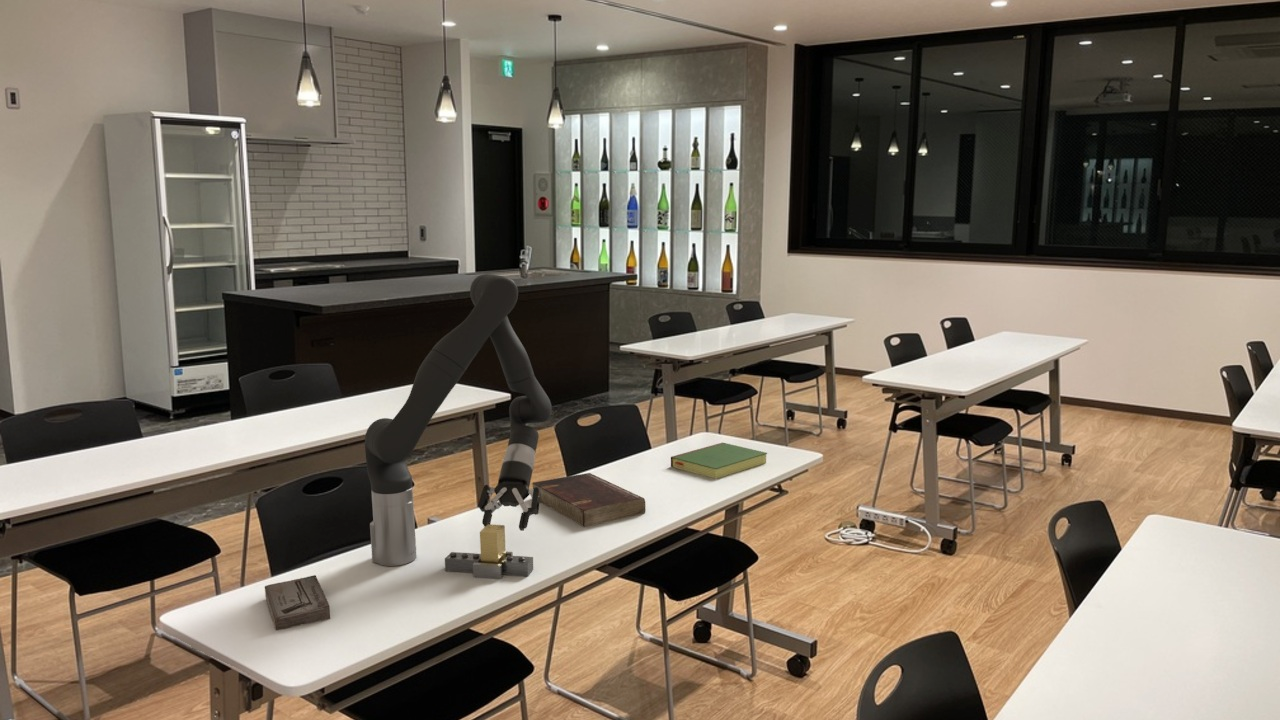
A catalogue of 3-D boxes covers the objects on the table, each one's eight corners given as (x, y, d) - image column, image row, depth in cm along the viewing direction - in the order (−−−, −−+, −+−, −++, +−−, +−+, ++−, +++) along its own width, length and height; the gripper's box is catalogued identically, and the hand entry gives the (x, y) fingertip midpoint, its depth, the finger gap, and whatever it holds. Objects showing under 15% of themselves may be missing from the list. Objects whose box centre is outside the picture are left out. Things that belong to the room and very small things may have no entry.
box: (317, 587, 203) (315, 573, 203) (331, 619, 188) (330, 605, 188) (264, 598, 199) (262, 585, 198) (275, 633, 184) (273, 618, 183)
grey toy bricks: (441, 574, 210) (440, 560, 209) (455, 560, 218) (455, 546, 217) (524, 580, 206) (524, 565, 206) (536, 565, 214) (535, 551, 214)
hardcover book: (722, 453, 309) (722, 442, 308) (767, 464, 295) (767, 452, 295) (669, 468, 292) (669, 457, 291) (714, 481, 278) (714, 469, 278)
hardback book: (645, 514, 250) (645, 496, 249) (584, 528, 240) (583, 510, 239) (590, 488, 274) (590, 471, 273) (533, 499, 263) (532, 482, 263)
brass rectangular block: (481, 574, 210) (479, 531, 208) (489, 566, 215) (487, 524, 213) (498, 575, 209) (496, 532, 207) (506, 567, 214) (504, 525, 212)
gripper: (485, 458, 225) (469, 519, 216) (542, 460, 222) (529, 522, 213) (493, 473, 231) (479, 533, 222) (549, 475, 229) (536, 536, 219)
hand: (503, 528), depth 218 cm, fingers open, 8 cm apart
